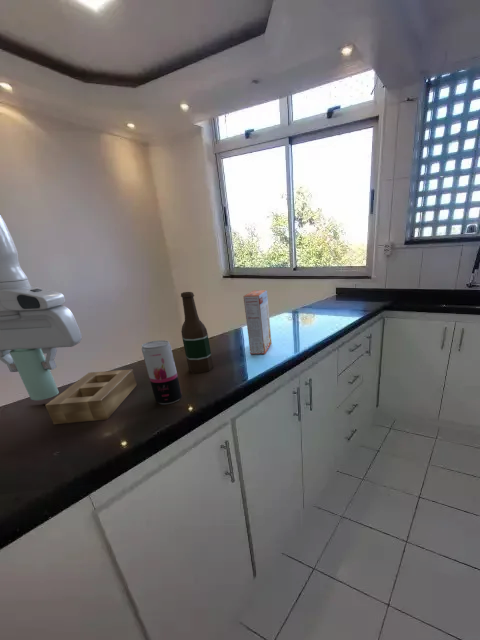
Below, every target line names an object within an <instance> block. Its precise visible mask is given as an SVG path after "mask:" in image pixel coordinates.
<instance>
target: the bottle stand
mask: <svg viewBox="0 0 480 640" xmlns="http://www.w3.org/2000/svg"><path fill="white" fill-rule="evenodd" d="M137 384H138V383H137V380H136V378H135V374H134V370H133V369H132V368H130V369H117V370H105V371H93V372H92V371H91V372H88V373H86V374H85V375H83V376H82V377H81V378H79V379H78V380H77V381H76V382H74V383H73V384H71V385H69V387H68V388H66V389H65V390H64V391H62V392H61V393H59V394H57V395H56V396H55V397H54V398H53V399H51V400H50V401H49V402H47V403H46V404H45V408H46V410H47V412H48V414H49V418H50V419H51V422H52V423H53V425H61V424H72V423H83V422H94V421H103V420H104V421H105V420H109V418H111V416H112V415H113V413H115V412H116V410H117V409H118V408H119V407H120V405H121V404H122V403H123V402H124V401H125V400H126V399H127V397H128V396H130V394H131V393H132V391H134V389H135V388H136V387H137Z"/></svg>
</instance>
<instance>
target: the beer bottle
mask: <svg viewBox="0 0 480 640" xmlns="http://www.w3.org/2000/svg"><path fill="white" fill-rule="evenodd" d="M180 297H181V299H182V307H183V313H184V314H183V315H184V320H183V321H184V322H183V324H182V325H181V331H180V332H181V338H182V344H183V349H184V354H185V358H186V362H187V367H188V370H189V371H190V372H191V373H192V374H203V373H206V372H210V371H211V370H212V369H213V368H214V365H213V364H214V363H213V357H212V350H211V345H210V344H211V343H210V339H209V333H208V330H207V328H206V326H205V324H204V323H203V321H202V320H201V319H200V317H199V314H198V310H197V306H196V302H195V298H194V297H195V294H194V292H193V291H184V292H181V293H180Z"/></svg>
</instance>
